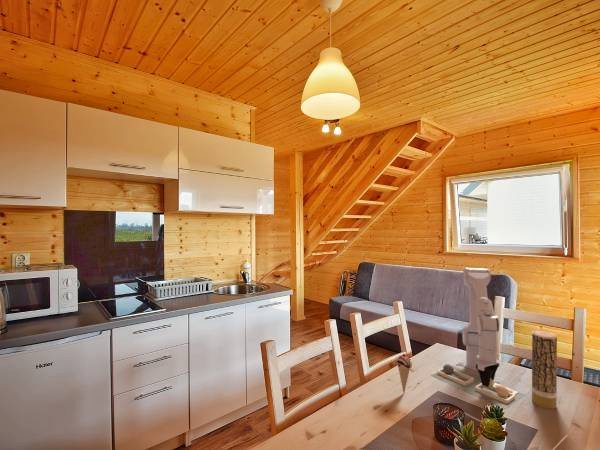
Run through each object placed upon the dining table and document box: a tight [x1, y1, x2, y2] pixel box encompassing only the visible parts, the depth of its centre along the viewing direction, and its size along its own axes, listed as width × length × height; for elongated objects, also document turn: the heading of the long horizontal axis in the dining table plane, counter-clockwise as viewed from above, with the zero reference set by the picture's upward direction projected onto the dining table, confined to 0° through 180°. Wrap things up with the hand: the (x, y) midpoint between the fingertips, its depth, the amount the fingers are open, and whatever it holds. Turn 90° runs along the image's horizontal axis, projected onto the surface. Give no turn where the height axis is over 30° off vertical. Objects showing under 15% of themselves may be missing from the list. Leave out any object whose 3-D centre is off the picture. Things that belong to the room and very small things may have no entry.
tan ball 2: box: [496, 384, 509, 398], centre depth 113 cm, size 4×4×4 cm
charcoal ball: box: [442, 364, 454, 375], centre depth 130 cm, size 4×4×4 cm
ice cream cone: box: [395, 353, 413, 393], centre depth 117 cm, size 6×6×15 cm
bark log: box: [531, 329, 558, 410], centre depth 109 cm, size 7×7×25 cm
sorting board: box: [430, 365, 526, 410], centre depth 122 cm, size 16×28×2 cm, turn 34°
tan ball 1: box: [483, 378, 495, 388], centre depth 117 cm, size 4×4×4 cm
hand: (487, 383), depth 117 cm, fingers closed on tan ball 1, 4 cm apart
